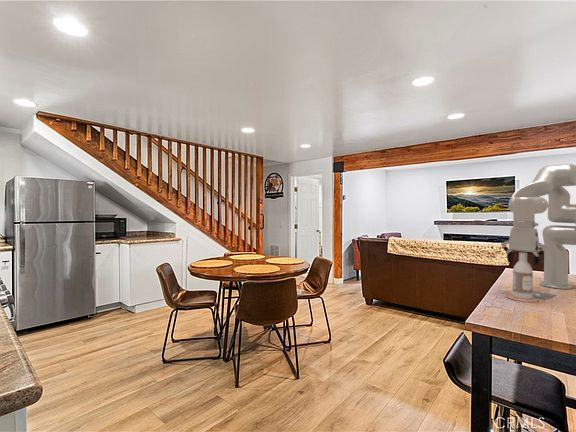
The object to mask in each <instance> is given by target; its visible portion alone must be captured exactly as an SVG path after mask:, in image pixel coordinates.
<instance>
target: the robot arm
mask: <svg viewBox="0 0 576 432" xmlns="http://www.w3.org/2000/svg"><path fill="white" fill-rule="evenodd" d="M564 187H576V164H572V163H563V164H552V165H546V166H542V167H541V168H540V169H539V170H538V172H537V173H536V175H535V177H534V179H533V181H531V182H530V183H528V184H525V185H524V186H522V187H520V188H518V189H517V190H515V191H514V192H513V193H512V196H511V197H510V199H509V202H508V207H507V209H508V210H509V211H510V213H512V215H513V216H512V217H513V219H512V227H511V228H510V233H509V238H508V240H505V241H503V242H500V245H501V247H502V249H503V251H505V253H506V254H507V255H506V256H507V257H506V259H507V262H508V263H512V262H514V253H513V252H514V251H519V252H522V251H523V252H532V254H533V255H534V256H533V266H535V267H538V266H539V265H540V263H541V261H540V260H541V256H542V255H544V257H543V259H544V260H543V281H540V282H539V285H540V286H542V287H545V288H552V289H557V290H558V289H559V290H571V289H572V288H573V286H572V284H569V262H570V261H569V259H570V257H569V255H570V253H569V251H568V250H567V248H566V247H565V246H564V245H567V246H569V245H570V246H576V203H575V204H571V194H570V192H569V191H568V190H567V188H564ZM547 195H548V201H547V199H545V198H544V197H543V196H547ZM546 211H547V220H548V221H549V222H551V223H559V224H560V225H559V224H557V225H555V224H554V225H553V224H552V225H548V226H545V227H544V228H543V230H542V239H543V243H541V242H540V239H539V238H540V237H539V233H538V229H537V228H536V227H539V223H538V222H536V221H535V220H536V219H535V215H536V214H544V213H545V212H546ZM561 224H575V225H561ZM507 245H508V247H507ZM540 248H541V250H540ZM539 250H540V251H539Z"/></svg>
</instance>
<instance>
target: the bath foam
mask: <svg viewBox="0 0 576 432" xmlns="http://www.w3.org/2000/svg"><path fill="white" fill-rule="evenodd" d="M533 273H534V272H533V267H532V266H531V264H530V262H529V261H528V252H527V251H523V252H522V251H519V252H518V261H517V262H516V263H515V265H514V266H513V268H512V294H513V296H514V297H516V298H520V299H531V298H532V291H533V281H534V280H533V279H534V278H533V276H534V275H533Z"/></svg>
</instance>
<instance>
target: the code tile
mask: <svg viewBox="0 0 576 432" xmlns="http://www.w3.org/2000/svg"><path fill="white" fill-rule="evenodd" d="M556 296H557V295H556V294H553V293H551V294H550V293H546V292H540V291H535V290H532V297H534V298H537V299H541V300H548V299H551V298H553V297H556Z"/></svg>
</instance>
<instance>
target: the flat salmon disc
mask: <svg viewBox="0 0 576 432" xmlns="http://www.w3.org/2000/svg"><path fill="white" fill-rule="evenodd" d="M506 298H507V299H510V300H512V301H517V302H521V303H522V302H523V303H537V302H539V298H535V297H532V298H531V299H520V298H516V297H514V296H513V293H510V294H509V293H508V294H507V295H506Z"/></svg>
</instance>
